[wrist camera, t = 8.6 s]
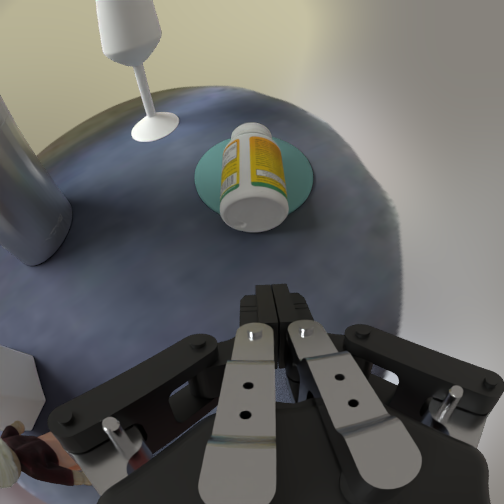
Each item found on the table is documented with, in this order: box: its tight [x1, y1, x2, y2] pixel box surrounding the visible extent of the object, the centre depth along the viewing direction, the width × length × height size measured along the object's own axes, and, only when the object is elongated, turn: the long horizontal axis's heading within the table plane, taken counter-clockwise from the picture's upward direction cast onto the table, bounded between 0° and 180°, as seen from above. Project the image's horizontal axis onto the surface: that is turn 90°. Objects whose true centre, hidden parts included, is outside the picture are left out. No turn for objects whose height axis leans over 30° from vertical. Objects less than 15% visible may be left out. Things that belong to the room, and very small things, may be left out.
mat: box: [195, 137, 313, 214], centre depth 27 cm, size 12×12×1 cm
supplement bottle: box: [220, 123, 289, 232], centre depth 23 cm, size 5×5×10 cm
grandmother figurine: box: [0, 421, 92, 488], centre depth 9 cm, size 8×4×13 cm, turn 89°
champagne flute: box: [96, 0, 179, 142], centre depth 21 cm, size 7×7×24 cm
